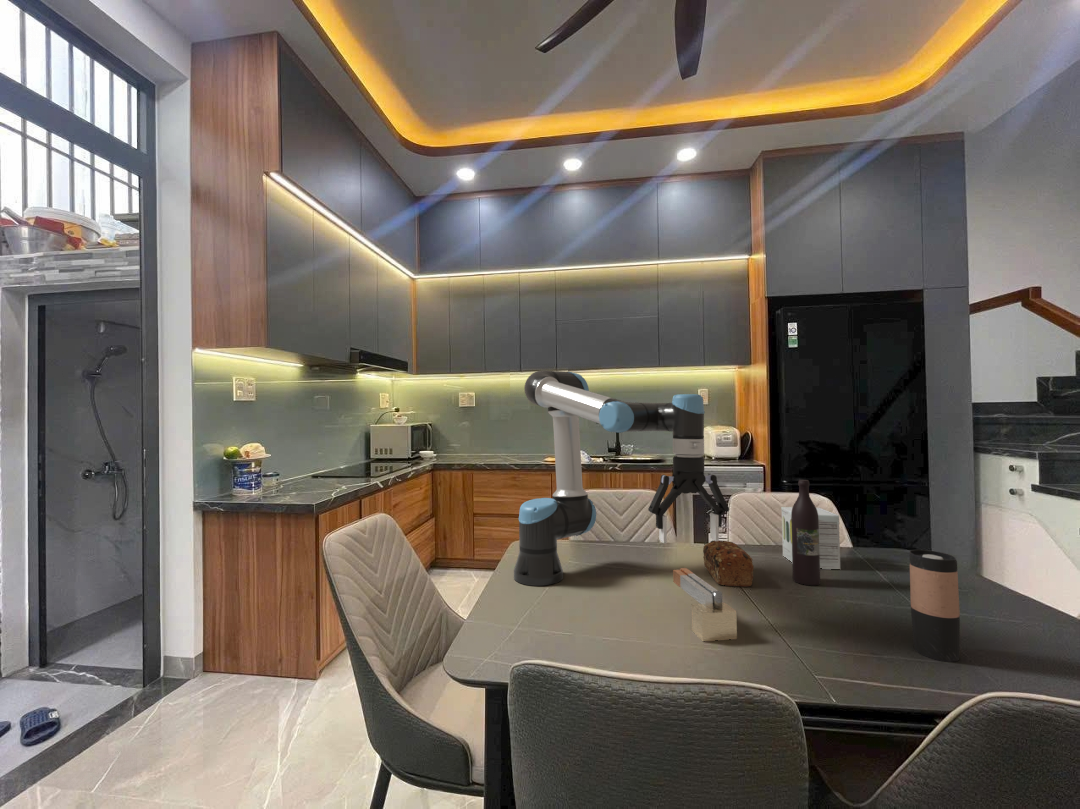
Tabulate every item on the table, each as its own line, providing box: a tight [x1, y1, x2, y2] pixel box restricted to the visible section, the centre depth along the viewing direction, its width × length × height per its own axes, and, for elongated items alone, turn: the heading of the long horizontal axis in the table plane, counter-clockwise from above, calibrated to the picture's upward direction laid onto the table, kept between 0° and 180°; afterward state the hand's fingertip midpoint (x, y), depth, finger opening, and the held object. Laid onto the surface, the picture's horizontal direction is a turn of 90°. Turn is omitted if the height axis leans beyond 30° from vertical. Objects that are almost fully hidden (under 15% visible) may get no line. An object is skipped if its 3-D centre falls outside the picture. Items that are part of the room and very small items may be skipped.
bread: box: [702, 539, 754, 588], centre depth 140 cm, size 19×11×10 cm, turn 172°
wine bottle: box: [791, 479, 821, 587], centre depth 135 cm, size 7×7×30 cm
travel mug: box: [908, 549, 961, 663], centre depth 94 cm, size 8×8×20 cm
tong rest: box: [672, 569, 738, 642], centre depth 109 cm, size 20×8×9 cm, turn 8°
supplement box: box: [781, 506, 841, 570], centre depth 152 cm, size 13×13×18 cm
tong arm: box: [679, 567, 723, 609], centre depth 110 cm, size 18×2×3 cm, turn 8°
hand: (688, 541), depth 113 cm, fingers open, 13 cm apart
